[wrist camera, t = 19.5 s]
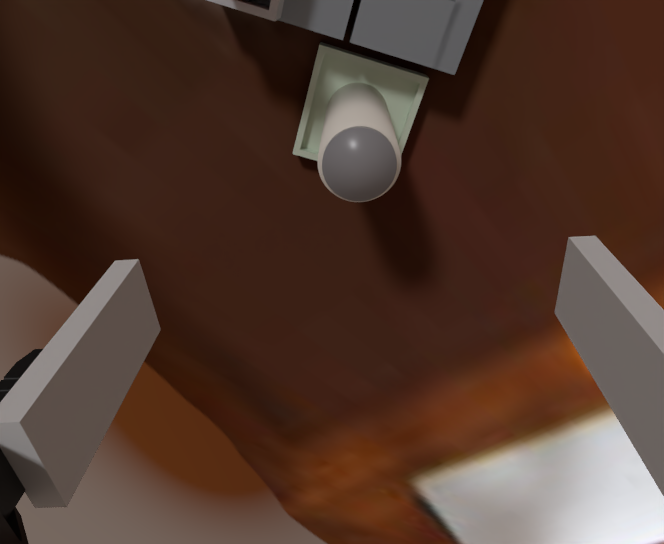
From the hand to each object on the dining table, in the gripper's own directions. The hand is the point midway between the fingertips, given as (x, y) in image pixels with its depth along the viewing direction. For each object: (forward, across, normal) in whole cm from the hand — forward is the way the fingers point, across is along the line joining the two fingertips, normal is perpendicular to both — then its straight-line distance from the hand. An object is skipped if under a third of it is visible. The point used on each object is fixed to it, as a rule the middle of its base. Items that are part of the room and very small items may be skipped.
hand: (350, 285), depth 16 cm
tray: (+29, 0, -2) cm, 29 cm away
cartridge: (+28, 0, -2) cm, 28 cm away
